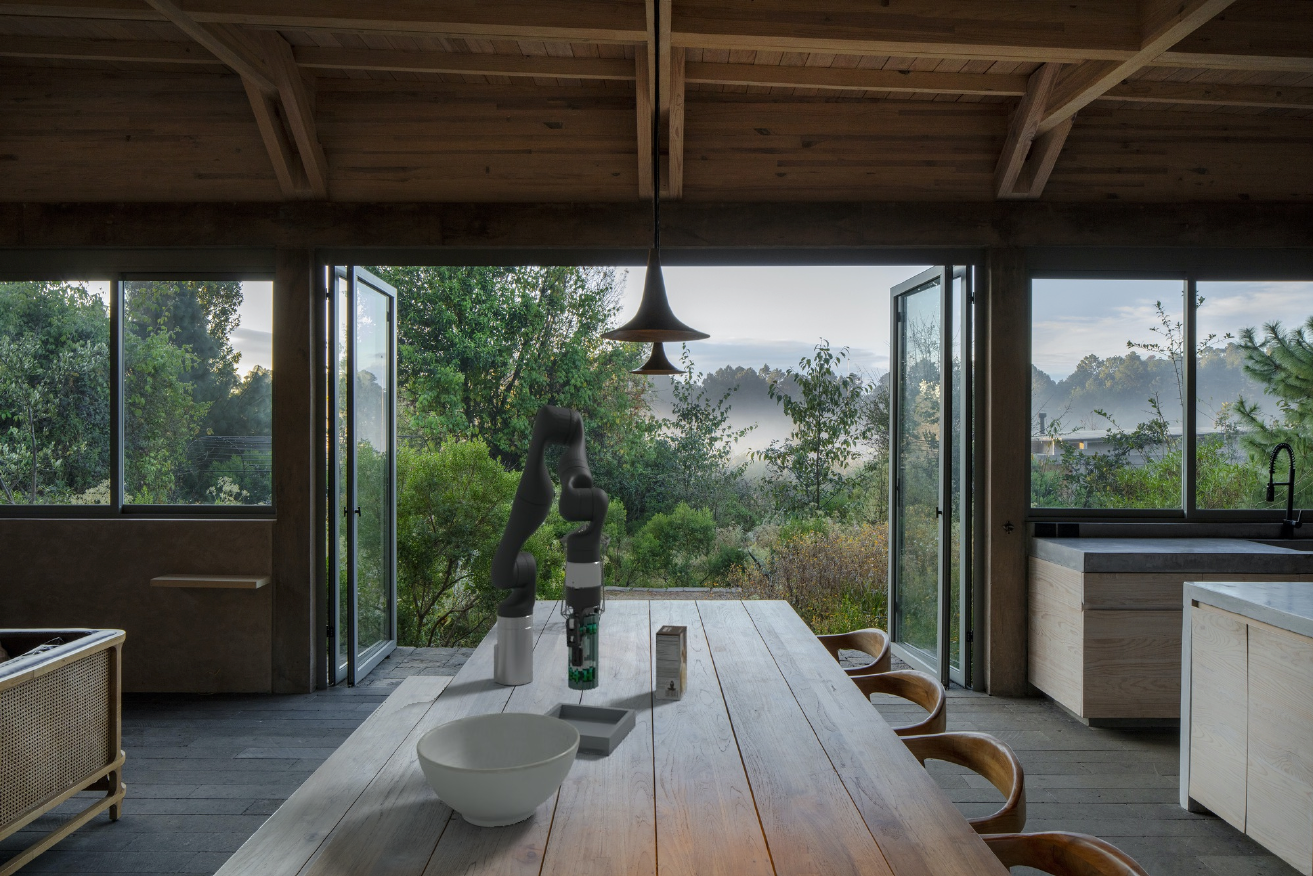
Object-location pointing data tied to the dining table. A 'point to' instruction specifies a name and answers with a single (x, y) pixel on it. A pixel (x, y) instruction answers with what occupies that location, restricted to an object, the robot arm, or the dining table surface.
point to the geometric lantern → (600, 565)
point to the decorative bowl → (498, 764)
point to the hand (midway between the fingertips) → (582, 661)
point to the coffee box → (671, 662)
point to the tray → (596, 725)
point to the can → (586, 657)
